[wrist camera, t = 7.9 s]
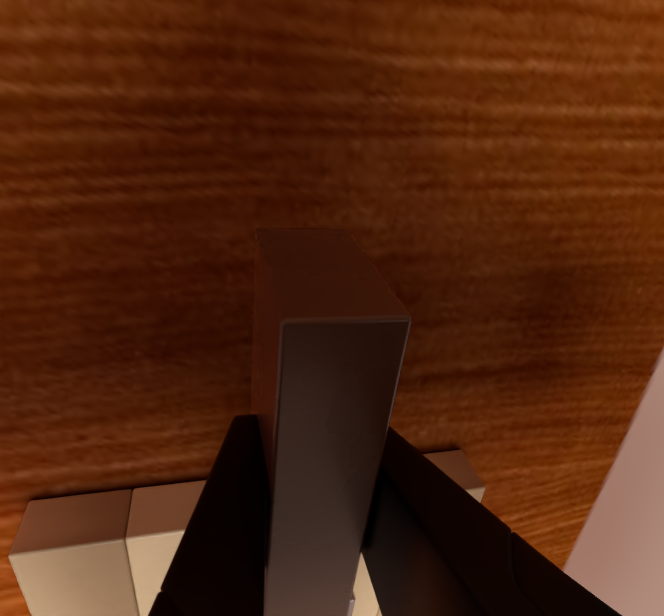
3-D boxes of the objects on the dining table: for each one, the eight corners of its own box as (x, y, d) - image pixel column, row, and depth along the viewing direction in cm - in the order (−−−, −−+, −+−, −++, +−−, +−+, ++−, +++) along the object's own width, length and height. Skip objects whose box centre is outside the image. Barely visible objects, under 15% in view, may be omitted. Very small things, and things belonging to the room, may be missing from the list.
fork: (413, 228, 8) (505, 313, 6) (328, 655, 15) (352, 775, 13) (177, 224, 7) (161, 324, 5) (204, 682, 14) (205, 818, 12)
